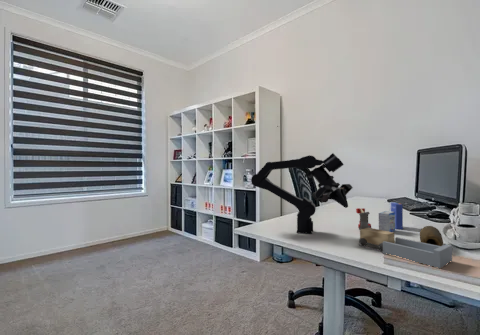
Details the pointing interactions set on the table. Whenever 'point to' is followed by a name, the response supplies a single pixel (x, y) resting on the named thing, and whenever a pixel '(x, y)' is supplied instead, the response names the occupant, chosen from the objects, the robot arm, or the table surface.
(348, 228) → the table surface
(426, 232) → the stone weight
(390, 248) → the tray
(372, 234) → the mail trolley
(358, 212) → the toy fire truck
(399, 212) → the walkman
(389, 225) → the medicine box
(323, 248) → the table surface
